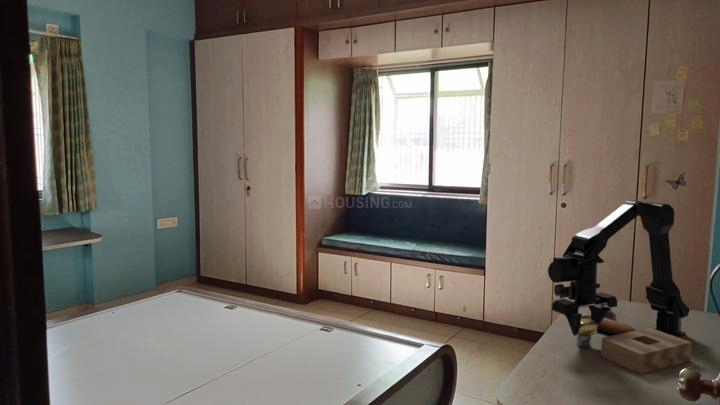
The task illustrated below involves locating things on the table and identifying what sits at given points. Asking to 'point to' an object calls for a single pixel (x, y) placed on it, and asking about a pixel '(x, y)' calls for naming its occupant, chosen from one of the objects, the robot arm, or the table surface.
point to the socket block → (646, 350)
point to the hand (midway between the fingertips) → (584, 333)
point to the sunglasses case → (613, 326)
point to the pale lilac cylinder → (610, 315)
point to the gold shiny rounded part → (586, 333)
